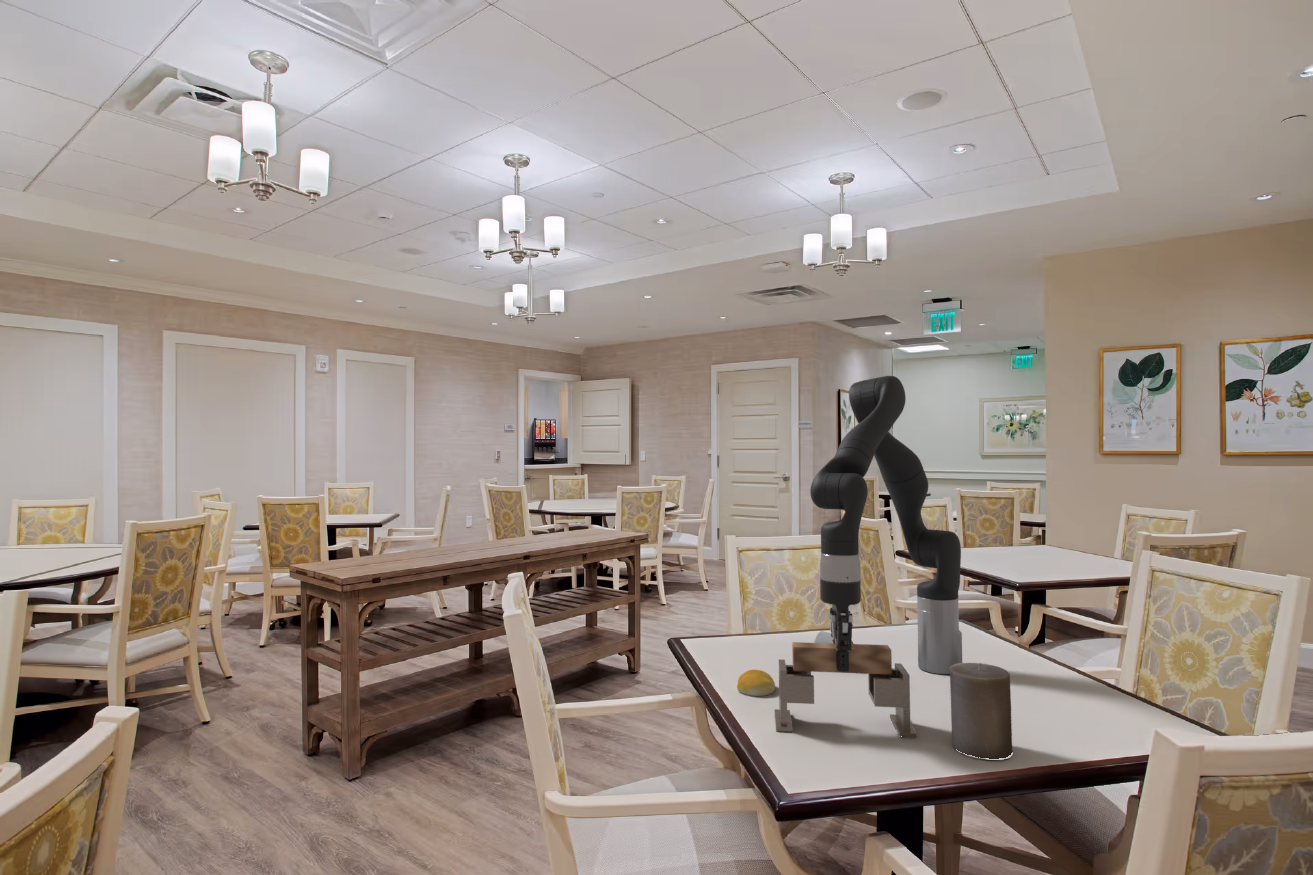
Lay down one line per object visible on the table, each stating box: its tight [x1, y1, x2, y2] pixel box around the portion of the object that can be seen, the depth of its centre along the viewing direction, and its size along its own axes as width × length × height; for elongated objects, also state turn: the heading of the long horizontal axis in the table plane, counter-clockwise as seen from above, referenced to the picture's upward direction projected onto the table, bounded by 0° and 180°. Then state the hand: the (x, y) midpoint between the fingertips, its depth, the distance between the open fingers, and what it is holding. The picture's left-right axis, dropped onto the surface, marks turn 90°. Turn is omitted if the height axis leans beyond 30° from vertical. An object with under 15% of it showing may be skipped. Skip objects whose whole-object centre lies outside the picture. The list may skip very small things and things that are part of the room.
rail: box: [791, 641, 893, 675], centre depth 130 cm, size 18×4×4 cm, turn 82°
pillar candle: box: [949, 662, 1014, 759], centre depth 119 cm, size 10×10×15 cm
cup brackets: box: [774, 658, 918, 739], centre depth 130 cm, size 25×9×11 cm, turn 82°
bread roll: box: [736, 669, 776, 697], centre depth 150 cm, size 8×9×4 cm
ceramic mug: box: [813, 630, 854, 644], centre depth 169 cm, size 11×8×8 cm
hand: (841, 667), depth 130 cm, fingers closed on rail, 3 cm apart
